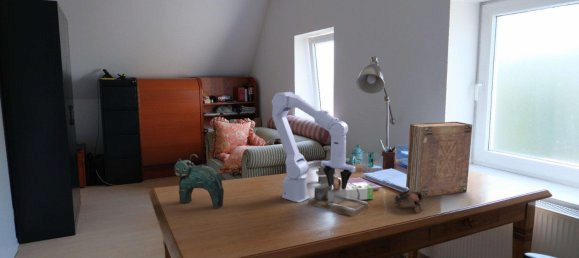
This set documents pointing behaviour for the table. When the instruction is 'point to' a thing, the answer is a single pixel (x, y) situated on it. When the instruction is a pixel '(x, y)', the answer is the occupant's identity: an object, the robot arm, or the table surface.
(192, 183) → the ceramic cat
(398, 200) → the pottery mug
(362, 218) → the table surface
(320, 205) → the base
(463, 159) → the book
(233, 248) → the table surface
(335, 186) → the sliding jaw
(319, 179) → the architectural model
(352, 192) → the ink box
